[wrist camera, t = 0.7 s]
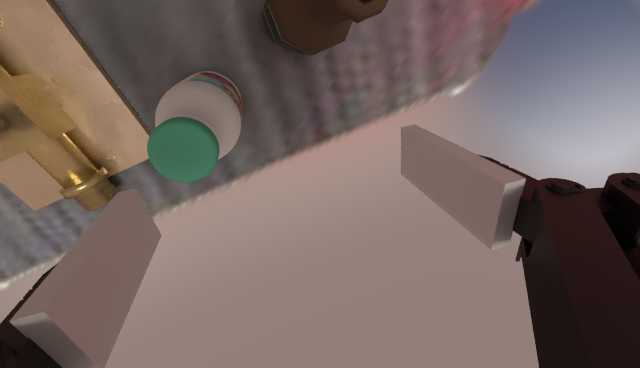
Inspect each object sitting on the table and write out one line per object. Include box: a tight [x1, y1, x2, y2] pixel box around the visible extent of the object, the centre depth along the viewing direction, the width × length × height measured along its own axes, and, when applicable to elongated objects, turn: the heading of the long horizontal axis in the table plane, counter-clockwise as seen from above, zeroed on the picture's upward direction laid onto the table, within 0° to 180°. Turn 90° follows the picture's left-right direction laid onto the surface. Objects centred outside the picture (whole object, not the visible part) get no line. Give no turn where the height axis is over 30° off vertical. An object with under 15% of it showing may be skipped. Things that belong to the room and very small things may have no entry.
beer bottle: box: [262, 0, 388, 55], centre depth 24 cm, size 8×8×24 cm
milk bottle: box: [147, 71, 243, 182], centre depth 28 cm, size 8×8×20 cm
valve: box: [0, 0, 151, 211], centre depth 28 cm, size 24×18×10 cm
